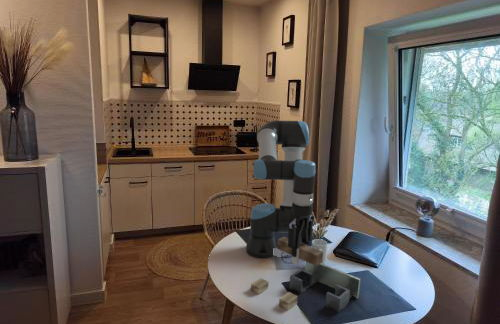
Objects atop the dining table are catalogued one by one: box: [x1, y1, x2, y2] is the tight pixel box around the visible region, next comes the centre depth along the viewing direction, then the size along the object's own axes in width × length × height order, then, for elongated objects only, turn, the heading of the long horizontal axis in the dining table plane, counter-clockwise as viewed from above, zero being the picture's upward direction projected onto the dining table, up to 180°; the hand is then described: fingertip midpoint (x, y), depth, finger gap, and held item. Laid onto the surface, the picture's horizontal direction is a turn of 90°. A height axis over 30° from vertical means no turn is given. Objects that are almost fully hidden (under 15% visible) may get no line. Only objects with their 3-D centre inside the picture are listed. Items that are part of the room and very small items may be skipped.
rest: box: [250, 277, 298, 311], centre depth 135 cm, size 18×6×3 cm, turn 48°
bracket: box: [289, 261, 361, 313], centre depth 138 cm, size 24×14×8 cm, turn 48°
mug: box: [311, 238, 328, 265], centre depth 156 cm, size 10×7×12 cm, turn 173°
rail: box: [277, 236, 323, 266], centre depth 132 cm, size 18×4×4 cm, turn 45°
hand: (298, 261), depth 132 cm, fingers closed on rail, 4 cm apart
